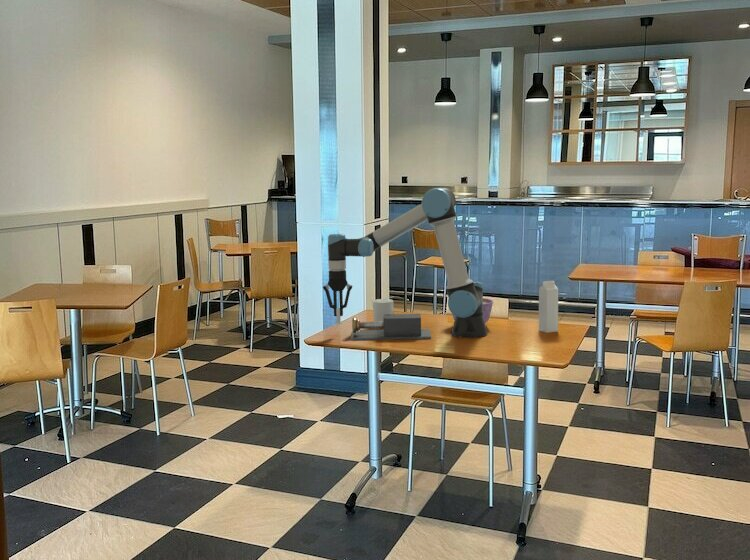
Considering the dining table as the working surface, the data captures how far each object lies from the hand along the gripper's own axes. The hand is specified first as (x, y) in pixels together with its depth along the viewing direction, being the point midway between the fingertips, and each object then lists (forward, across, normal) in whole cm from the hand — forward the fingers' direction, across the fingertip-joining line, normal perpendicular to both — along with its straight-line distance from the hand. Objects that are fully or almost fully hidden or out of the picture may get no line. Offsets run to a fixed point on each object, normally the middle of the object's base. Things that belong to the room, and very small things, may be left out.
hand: (338, 323), depth 318 cm
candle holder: (+6, -19, -20) cm, 28 cm away
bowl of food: (+6, -59, -18) cm, 62 cm away
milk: (+5, -91, -4) cm, 92 cm away
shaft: (+4, -17, 0) cm, 17 cm away
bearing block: (+6, -23, 0) cm, 23 cm away
